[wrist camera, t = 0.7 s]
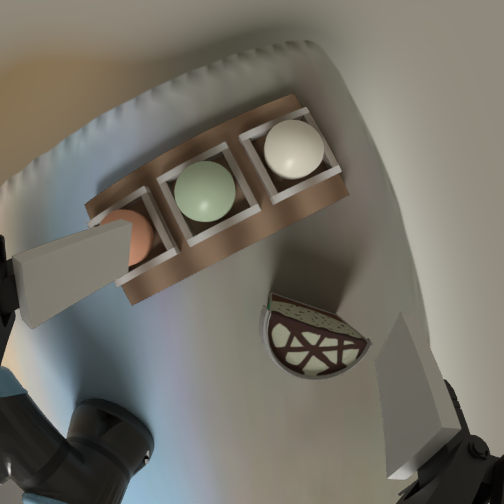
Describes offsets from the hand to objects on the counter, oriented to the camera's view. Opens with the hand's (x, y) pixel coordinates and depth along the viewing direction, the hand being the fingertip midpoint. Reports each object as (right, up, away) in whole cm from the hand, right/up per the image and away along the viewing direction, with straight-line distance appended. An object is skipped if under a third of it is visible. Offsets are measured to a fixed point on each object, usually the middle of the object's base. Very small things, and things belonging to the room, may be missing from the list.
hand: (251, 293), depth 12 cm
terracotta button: (-14, +3, +17) cm, 22 cm away
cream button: (+4, +12, +17) cm, 22 cm away
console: (-5, +8, +22) cm, 24 cm away
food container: (+6, -8, +24) cm, 26 cm away
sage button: (-5, +8, +17) cm, 20 cm away
